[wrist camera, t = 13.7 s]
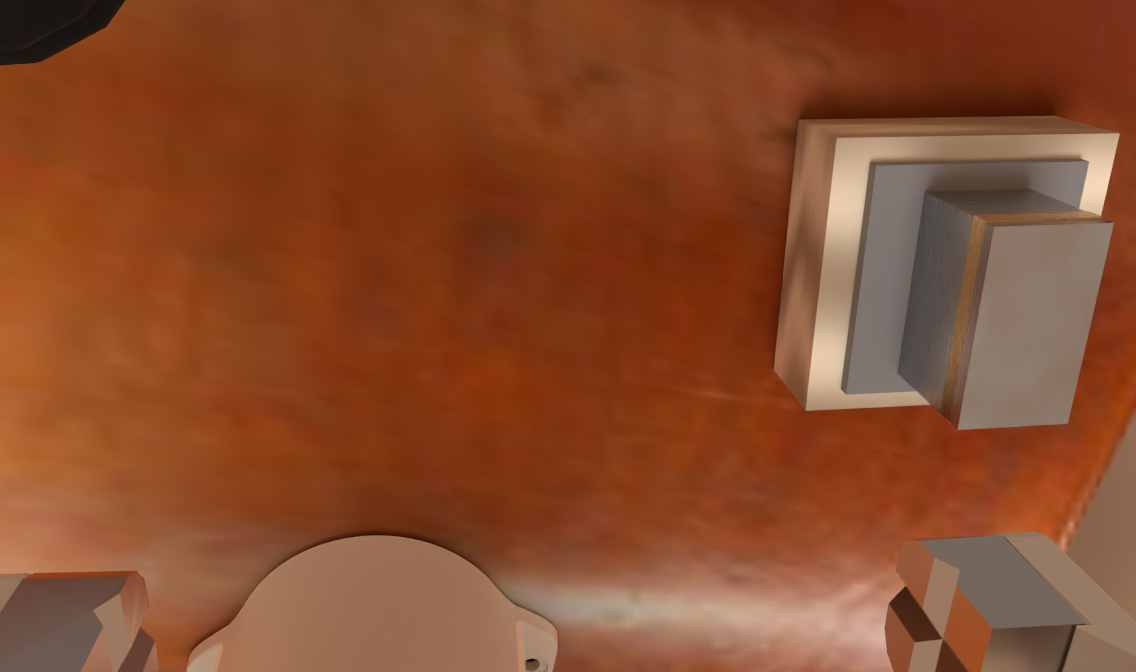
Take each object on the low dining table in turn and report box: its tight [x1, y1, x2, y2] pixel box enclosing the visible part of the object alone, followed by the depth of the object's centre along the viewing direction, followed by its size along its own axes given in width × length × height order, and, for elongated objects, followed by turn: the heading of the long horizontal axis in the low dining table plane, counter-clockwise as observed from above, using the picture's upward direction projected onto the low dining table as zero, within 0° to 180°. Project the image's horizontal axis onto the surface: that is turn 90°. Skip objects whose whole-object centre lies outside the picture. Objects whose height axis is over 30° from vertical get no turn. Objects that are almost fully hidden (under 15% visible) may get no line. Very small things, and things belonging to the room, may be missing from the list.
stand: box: [774, 116, 1120, 411], centre depth 41 cm, size 12×12×5 cm
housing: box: [898, 189, 1114, 430], centre depth 37 cm, size 4×8×5 cm, turn 0°
